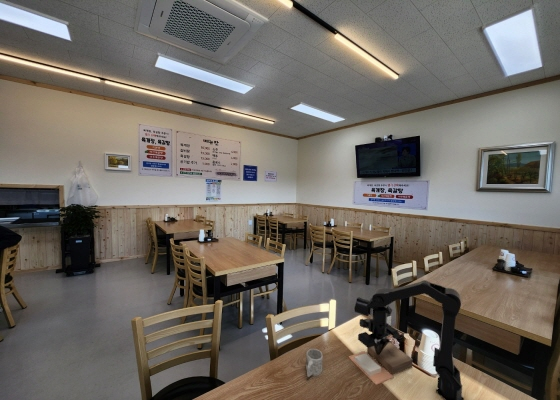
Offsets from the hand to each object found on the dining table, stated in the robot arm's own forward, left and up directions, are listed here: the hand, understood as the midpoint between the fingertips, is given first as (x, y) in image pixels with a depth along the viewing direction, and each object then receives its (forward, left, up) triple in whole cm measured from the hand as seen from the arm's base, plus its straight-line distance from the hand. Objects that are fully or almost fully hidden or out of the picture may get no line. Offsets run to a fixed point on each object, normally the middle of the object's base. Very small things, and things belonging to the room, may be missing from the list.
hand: (377, 354), depth 100 cm
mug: (+7, +29, -5) cm, 30 cm away
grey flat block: (0, +6, -2) cm, 6 cm away
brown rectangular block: (0, -7, -4) cm, 8 cm away
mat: (0, +4, -4) cm, 6 cm away
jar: (+18, -23, -5) cm, 30 cm away
